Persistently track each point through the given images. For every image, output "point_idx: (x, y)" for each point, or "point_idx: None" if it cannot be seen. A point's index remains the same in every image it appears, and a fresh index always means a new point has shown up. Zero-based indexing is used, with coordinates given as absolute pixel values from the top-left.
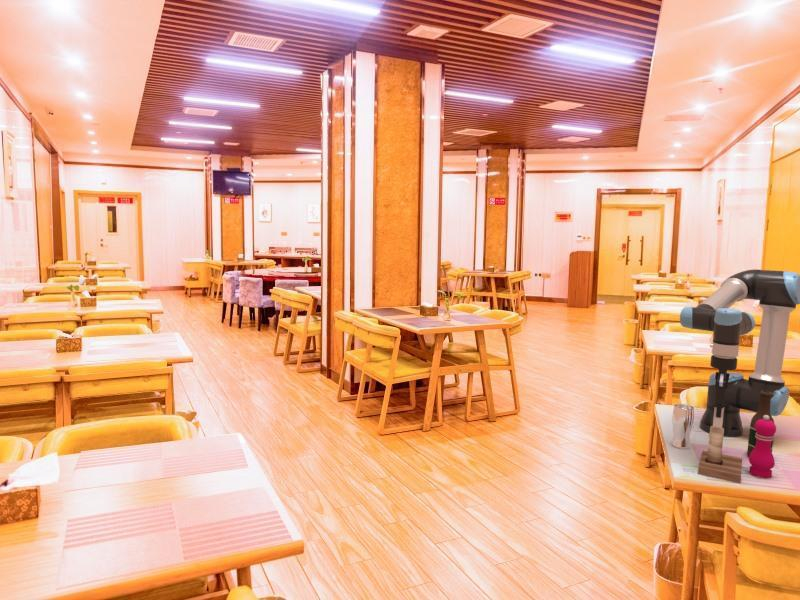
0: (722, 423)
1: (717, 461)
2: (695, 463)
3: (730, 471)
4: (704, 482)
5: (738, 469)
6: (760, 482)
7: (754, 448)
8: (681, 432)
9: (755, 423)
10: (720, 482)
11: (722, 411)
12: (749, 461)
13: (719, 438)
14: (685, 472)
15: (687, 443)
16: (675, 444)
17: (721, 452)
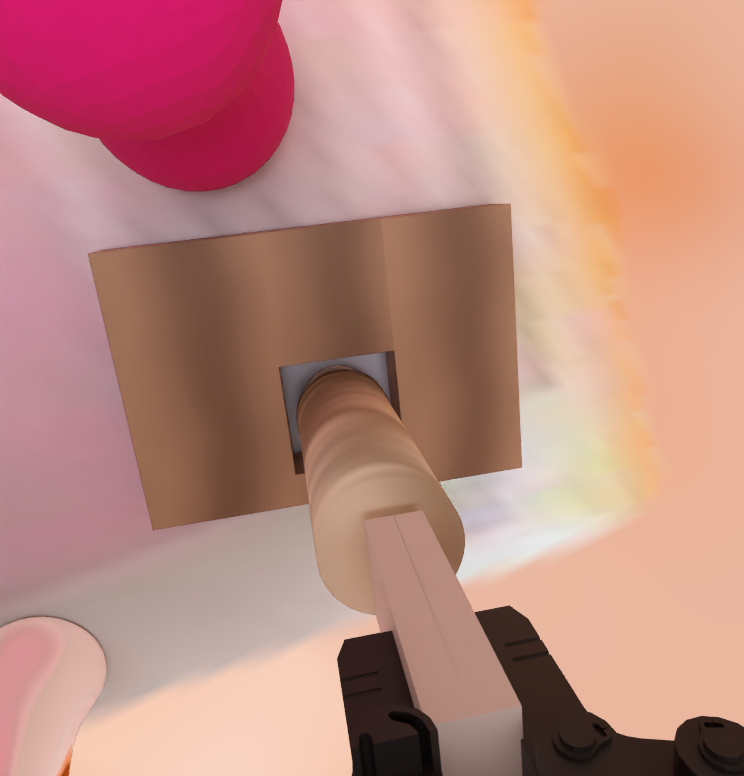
0: (394, 538)
1: (381, 390)
2: None
3: (475, 280)
4: (611, 386)
5: (395, 239)
6: (381, 82)
7: (194, 141)
8: (66, 751)
9: (154, 119)
10: (554, 311)
11: (498, 670)
12: (241, 180)
13: (426, 463)
14: (523, 507)
15: (48, 648)
16: (97, 695)
17: (361, 394)
